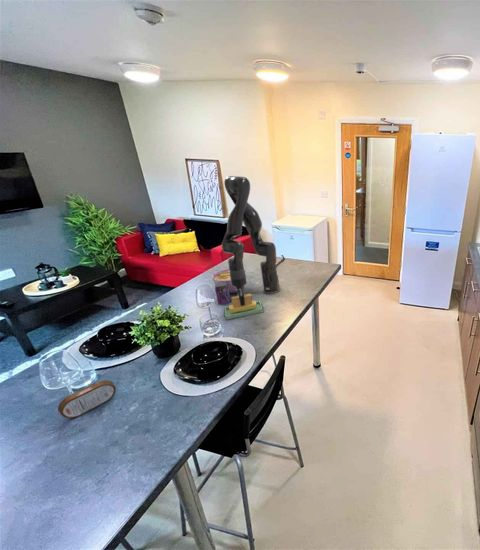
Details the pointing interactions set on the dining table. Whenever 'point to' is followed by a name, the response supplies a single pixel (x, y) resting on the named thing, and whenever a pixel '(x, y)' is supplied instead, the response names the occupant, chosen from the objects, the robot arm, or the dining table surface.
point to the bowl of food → (224, 279)
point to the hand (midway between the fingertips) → (242, 303)
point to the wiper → (248, 305)
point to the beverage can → (222, 292)
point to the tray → (243, 313)
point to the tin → (86, 399)
